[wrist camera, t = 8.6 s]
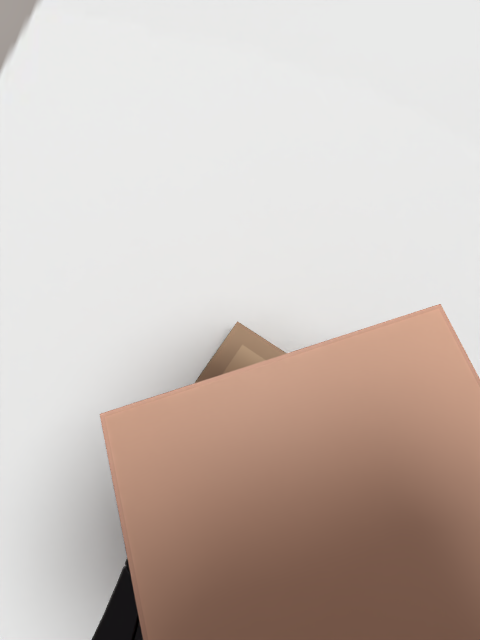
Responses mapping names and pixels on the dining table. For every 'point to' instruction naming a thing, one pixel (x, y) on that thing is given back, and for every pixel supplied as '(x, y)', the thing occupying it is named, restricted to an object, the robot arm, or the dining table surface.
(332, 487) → the terracotta block
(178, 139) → the dining table surface
